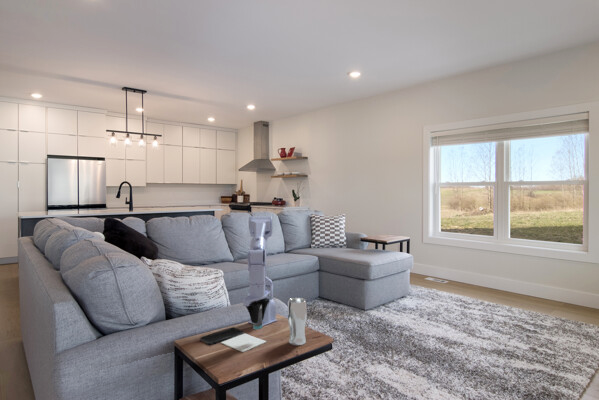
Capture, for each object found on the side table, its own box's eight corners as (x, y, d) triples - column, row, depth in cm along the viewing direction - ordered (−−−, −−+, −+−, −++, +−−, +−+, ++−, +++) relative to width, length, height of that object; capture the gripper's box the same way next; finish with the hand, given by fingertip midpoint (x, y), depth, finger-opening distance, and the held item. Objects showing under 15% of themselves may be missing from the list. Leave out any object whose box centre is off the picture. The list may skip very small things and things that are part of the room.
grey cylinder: (259, 325, 130) (258, 303, 130) (263, 327, 128) (263, 305, 128) (251, 327, 128) (251, 305, 128) (256, 329, 126) (255, 307, 126)
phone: (198, 337, 131) (232, 326, 142) (199, 340, 131) (232, 329, 142) (210, 343, 125) (245, 331, 136) (210, 346, 125) (245, 334, 136)
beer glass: (309, 339, 130) (309, 298, 130) (303, 347, 123) (302, 303, 123) (291, 337, 132) (291, 296, 132) (284, 344, 126) (284, 301, 126)
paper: (244, 334, 136) (244, 333, 136) (266, 342, 128) (266, 341, 128) (220, 343, 127) (220, 342, 127) (242, 352, 120) (242, 351, 120)
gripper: (259, 277, 136) (259, 313, 136) (235, 286, 123) (236, 325, 124) (275, 279, 133) (275, 316, 133) (252, 288, 120) (252, 328, 120)
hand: (257, 320), depth 128 cm, fingers closed on grey cylinder, 3 cm apart
